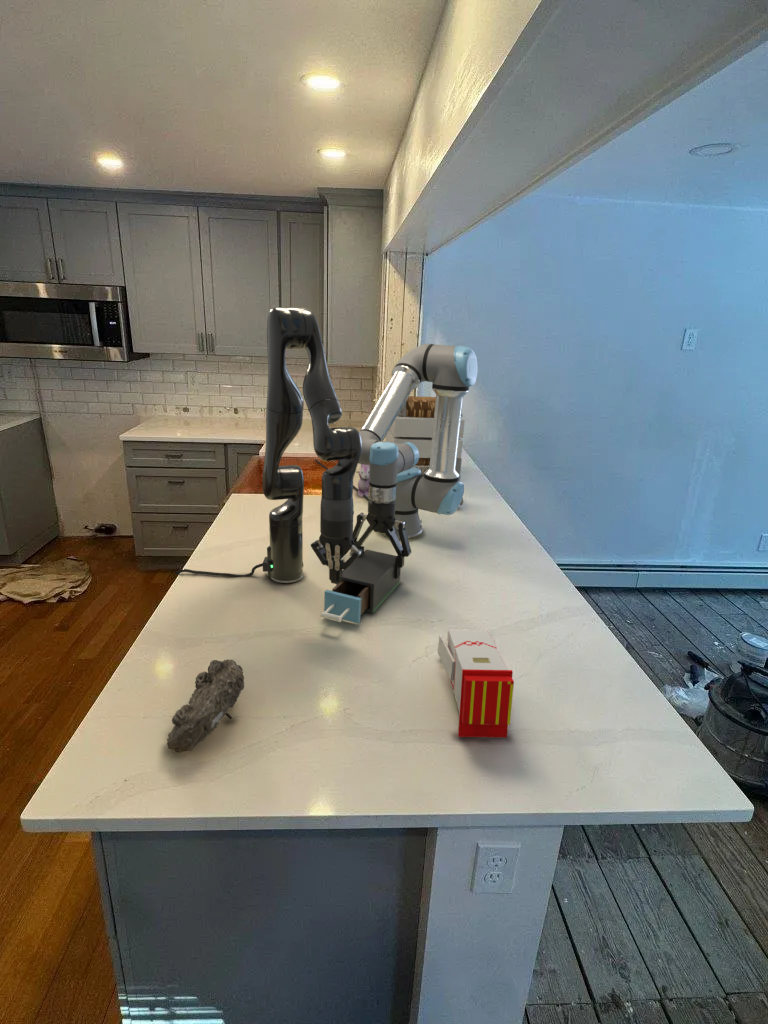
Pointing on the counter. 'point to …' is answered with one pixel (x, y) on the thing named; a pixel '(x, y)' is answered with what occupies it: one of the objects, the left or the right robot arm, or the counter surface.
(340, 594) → the drawer
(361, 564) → the cabinet
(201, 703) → the fossil
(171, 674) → the counter surface
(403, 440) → the light grey slatted crate
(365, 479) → the figurine
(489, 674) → the toy
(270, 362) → the left robot arm
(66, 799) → the counter surface
